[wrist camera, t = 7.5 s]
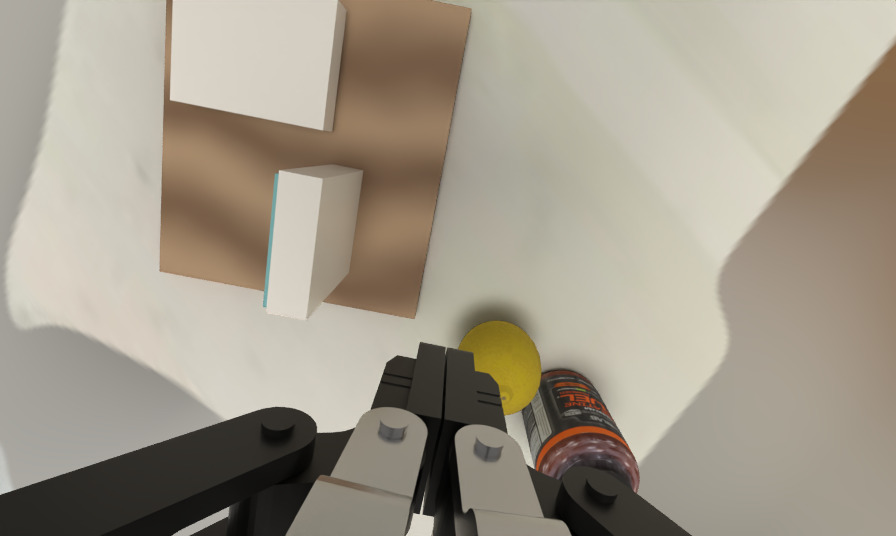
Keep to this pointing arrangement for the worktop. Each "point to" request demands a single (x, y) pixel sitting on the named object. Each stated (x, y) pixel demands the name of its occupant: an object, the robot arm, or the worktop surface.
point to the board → (324, 158)
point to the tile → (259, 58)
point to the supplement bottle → (575, 430)
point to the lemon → (506, 361)
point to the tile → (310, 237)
